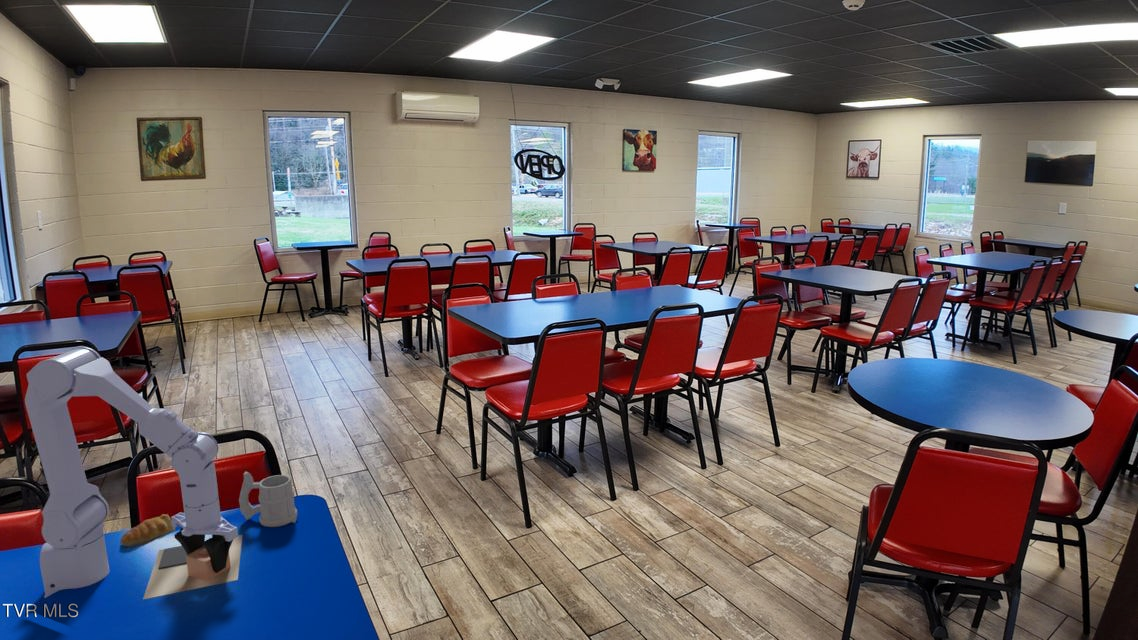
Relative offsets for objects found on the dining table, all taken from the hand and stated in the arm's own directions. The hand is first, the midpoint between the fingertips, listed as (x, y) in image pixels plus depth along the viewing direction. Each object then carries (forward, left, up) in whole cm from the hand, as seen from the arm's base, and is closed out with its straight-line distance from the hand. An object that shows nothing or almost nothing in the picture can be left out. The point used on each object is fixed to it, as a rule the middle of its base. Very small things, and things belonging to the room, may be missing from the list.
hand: (209, 566), depth 124 cm
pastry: (-13, +20, -2) cm, 24 cm away
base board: (-2, +3, -2) cm, 5 cm away
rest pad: (-5, +8, -2) cm, 10 cm away
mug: (+10, +17, -2) cm, 20 cm away
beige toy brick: (0, 0, -1) cm, 1 cm away
